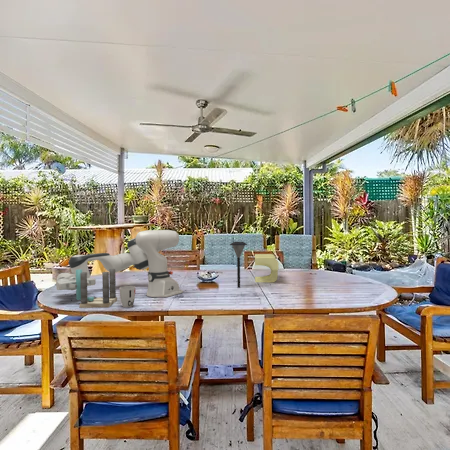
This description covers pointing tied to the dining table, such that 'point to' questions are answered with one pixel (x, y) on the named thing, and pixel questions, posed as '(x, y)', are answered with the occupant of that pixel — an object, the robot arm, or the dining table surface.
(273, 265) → the yellow curved hook shape
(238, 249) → the solar garden light
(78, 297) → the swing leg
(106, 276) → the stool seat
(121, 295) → the cup
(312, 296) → the dining table surface
